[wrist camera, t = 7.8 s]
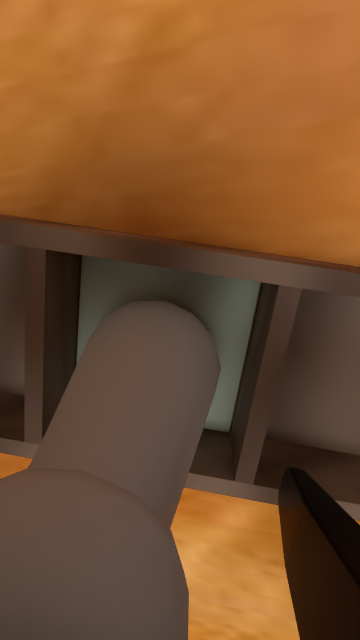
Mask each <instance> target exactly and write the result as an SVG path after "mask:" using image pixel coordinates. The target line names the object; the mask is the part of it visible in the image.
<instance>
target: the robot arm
mask: <svg viewBox="0 0 360 640" xmlns="http://www.w3.org/2000/svg"><path fill="white" fill-rule="evenodd" d="M278 505H279V515H280V524H281V534H282V543H283V553H284V561H285V568H286V574H287V579H288V584H289V588H290V593H291V598H292V603H293V608H294V612H295V617H296V622H297V627H298V632H299V636H300V640H360V525H359V524H358V523H357V522H356V521H355V520H354V519H353V518H352V517H351V516H350V515H349V514H348V513H347V512H346V511H345V510H344V509H343V508H342V507H341V506H340V505H339V504H338V503H337V502H336V501H335V500H334V499H333V498H332V497H331V496H330V495H329V494H328V493H327V492H326V491H325V490H324V489H323V488H322V487H321V486H320V485H319V484H318V483H317V482H316V481H315V480H314V479H313V478H312V477H311V476H310V475H309V474H308V473H307V472H306V471H305V470H304V469H302V468H297V467H292V466H288V467H286V469H285V471H284V474H283V478H282V481H281V485H280V488H279V492H278Z"/></svg>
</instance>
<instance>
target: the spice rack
mask: <svg viewBox="0 0 360 640" xmlns="http://www.w3.org/2000/svg"><path fill="white" fill-rule="evenodd" d="M158 300H166V301H168V302H170V303H172V304H175V305H177V306H179V307H181V308H183V309H185V310H187V311H189V312H191V313H194V315H195V316H196V317H197V318H198V319H199V320H200V322H201V323H202V324H203V325H204V326H205V327H206V329H207V330H208V331H209V332H210V333H211V334H212V336H213V337H214V340H215V344H216V348H217V353H218V357H219V361H220V365H221V371H220V375H219V379H218V383H217V387H216V391H215V395H214V398H213V401H212V404H211V407H210V410H209V413H208V416H207V419H206V422H205V425H204V428H203V431H202V434H201V437H200V440H199V443H198V446H197V449H196V452H195V455H194V458H193V461H192V464H191V467H190V470H189V473H188V476H187V479H186V482H185V485H184V487H185V488H190V489H196V490H201V491H206V492H212V493H217V494H222V495H228V496H233V497H238V498H243V499H249V500H254V501H259V502H265V503H270V504H275V505H278V492H279V488H280V485H281V481H282V478H283V474H284V471H285V469H286V467H288V466H292V467H297V468H302V469H304V470H305V471H306V472H307V473H308V474H309V475H310V476H311V477H312V478H313V479H314V480H315V481H316V482H317V483H318V484H319V485H320V486H321V487H322V488H323V489H324V490H325V491H326V492H327V493H328V494H329V495H330V496H331V497H332V498H333V499H334V500H335V501H336V502H337V503H338V504H339V505H340V506H341V507H342V508H343V509H344V510H345V511H346V512H347V513H348V514H349V515H350V516H351V517H352V518H353V519H354V520H360V267H355V266H348V265H341V264H334V263H327V262H321V261H314V260H307V259H300V258H293V257H287V256H280V255H273V254H266V253H259V252H253V251H246V250H239V249H232V248H225V247H219V246H212V245H205V244H198V243H191V242H185V241H178V240H171V239H164V238H157V237H151V236H144V235H137V234H130V233H123V232H117V231H110V230H103V229H96V228H89V227H83V226H76V225H69V224H62V223H55V222H49V221H42V220H35V219H28V218H21V217H15V216H8V215H1V214H0V453H5V454H11V455H16V456H21V457H27V458H32V459H33V457H34V455H35V453H36V451H37V449H38V447H39V445H40V443H41V441H42V439H43V437H44V435H45V433H46V431H47V429H48V427H49V425H50V422H51V420H52V418H53V416H54V414H55V411H56V409H57V407H58V405H59V403H60V401H61V398H62V396H63V394H64V392H65V390H66V387H67V385H68V383H69V381H70V379H71V377H72V374H73V372H74V370H75V368H76V366H77V363H78V361H79V359H80V357H81V355H82V353H83V350H84V348H85V346H86V344H87V342H88V339H89V338H90V336H91V335H92V333H93V332H94V330H95V329H96V327H97V326H98V324H99V323H100V321H101V320H102V318H103V317H104V315H106V314H108V313H110V312H112V311H114V310H116V309H118V308H120V307H123V306H125V305H127V304H129V303H131V302H134V301H158Z"/></svg>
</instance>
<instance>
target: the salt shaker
mask: <svg viewBox="0 0 360 640" xmlns="http://www.w3.org/2000/svg"><path fill="white" fill-rule="evenodd" d="M220 371H221V365H220V361H219V357H218V353H217V348H216V344H215V340H214V337H213V336H212V334H211V333H210V332H209V331H208V330H207V329H206V327H205V326H204V325H203V324H202V323H201V322H200V320H199V319H198V318H197V317H196V316H195V315H194V313H191V312H189V311H187V310H185V309H183V308H181V307H179V306H177V305H175V304H172V303H170V302H168V301H166V300H158V301H134V302H131V303H129V304H127V305H125V306H123V307H120V308H118V309H116V310H114V311H112V312H110V313H108V314H106V315H104V317H103V318H102V320H101V321H100V323H99V324H98V326H97V327H96V329H95V330H94V332H93V333H92V335H91V336H90V338H89V339H88V342H87V344H86V346H85V348H84V350H83V353H82V355H81V357H80V359H79V361H78V363H77V366H76V368H75V370H74V372H73V374H72V377H71V379H70V381H69V383H68V385H67V387H66V390H65V392H64V394H63V396H62V398H61V401H60V403H59V405H58V407H57V409H56V411H55V414H54V416H53V418H52V420H51V422H50V425H49V427H48V429H47V431H46V433H45V435H44V437H43V439H42V441H41V443H40V445H39V447H38V449H37V451H36V453H35V455H34V457H33V459H32V461H31V463H30V465H29V467H28V468H27V469H25V470H22V471H20V472H17V473H15V474H12V475H10V476H7V477H4V478H2V479H0V640H188V606H189V592H188V588H187V583H186V579H185V574H184V570H183V567H182V564H181V561H180V557H179V554H178V551H177V548H176V545H175V541H174V538H173V535H172V532H171V530H170V527H171V524H172V521H173V518H174V515H175V512H176V509H177V506H178V503H179V500H180V497H181V494H182V491H183V488H184V485H185V482H186V479H187V476H188V473H189V470H190V467H191V464H192V461H193V458H194V455H195V452H196V449H197V446H198V443H199V440H200V437H201V434H202V431H203V428H204V425H205V422H206V419H207V416H208V413H209V410H210V407H211V404H212V401H213V398H214V395H215V391H216V387H217V383H218V379H219V375H220Z"/></svg>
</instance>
